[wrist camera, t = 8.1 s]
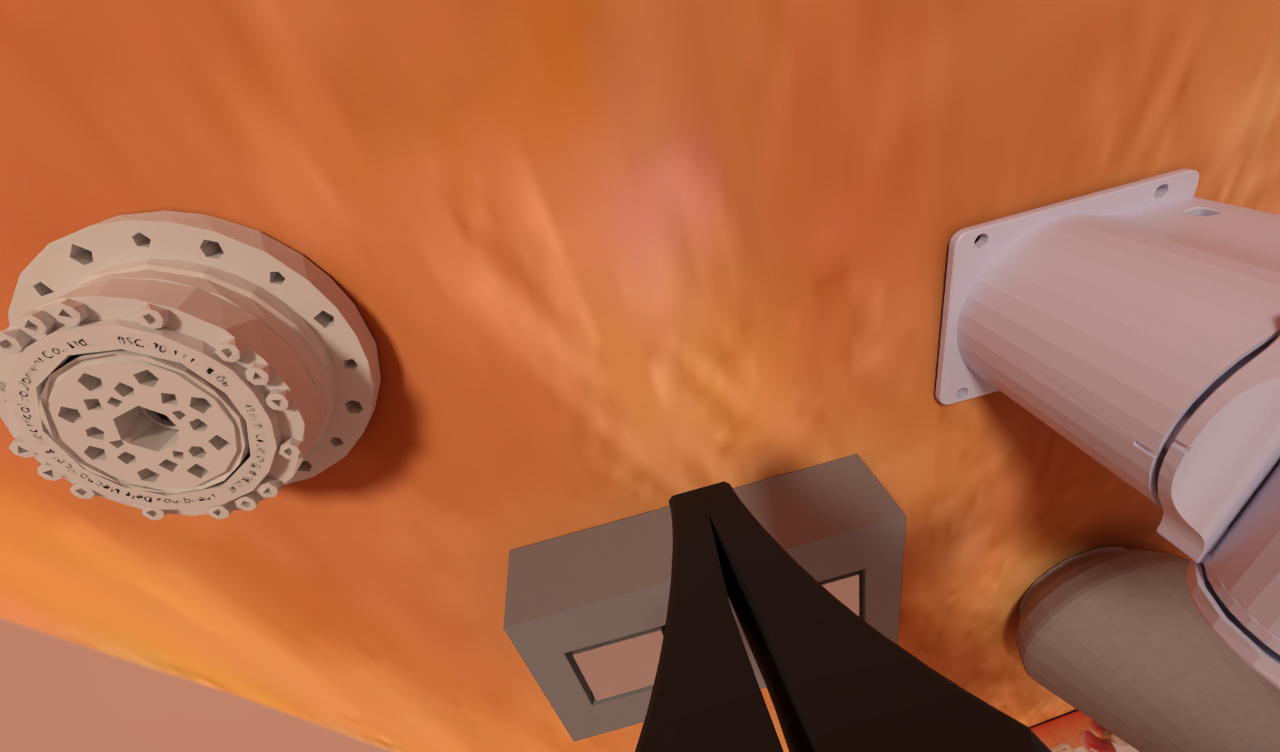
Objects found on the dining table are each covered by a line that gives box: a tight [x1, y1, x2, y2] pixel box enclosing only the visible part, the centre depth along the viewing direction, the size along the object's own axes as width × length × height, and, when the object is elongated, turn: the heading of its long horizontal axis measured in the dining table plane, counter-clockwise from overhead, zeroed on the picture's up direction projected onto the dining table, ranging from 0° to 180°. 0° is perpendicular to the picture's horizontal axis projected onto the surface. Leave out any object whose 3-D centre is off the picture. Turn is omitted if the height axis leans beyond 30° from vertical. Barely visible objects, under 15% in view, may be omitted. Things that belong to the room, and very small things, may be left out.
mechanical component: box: [0, 211, 381, 520], centre depth 17 cm, size 10×4×10 cm
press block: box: [504, 454, 906, 741], centre depth 26 cm, size 17×10×4 cm, turn 103°
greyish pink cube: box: [572, 625, 665, 701], centre depth 26 cm, size 4×4×4 cm
